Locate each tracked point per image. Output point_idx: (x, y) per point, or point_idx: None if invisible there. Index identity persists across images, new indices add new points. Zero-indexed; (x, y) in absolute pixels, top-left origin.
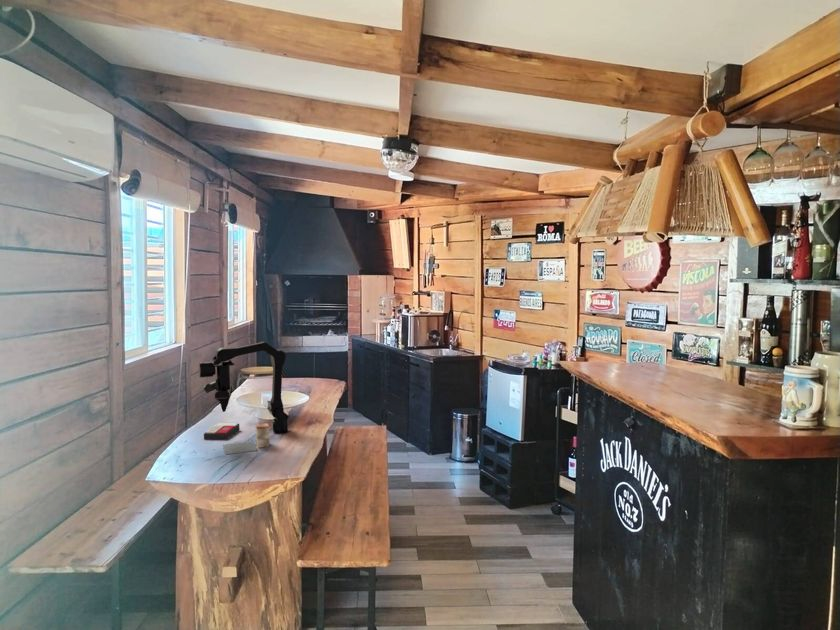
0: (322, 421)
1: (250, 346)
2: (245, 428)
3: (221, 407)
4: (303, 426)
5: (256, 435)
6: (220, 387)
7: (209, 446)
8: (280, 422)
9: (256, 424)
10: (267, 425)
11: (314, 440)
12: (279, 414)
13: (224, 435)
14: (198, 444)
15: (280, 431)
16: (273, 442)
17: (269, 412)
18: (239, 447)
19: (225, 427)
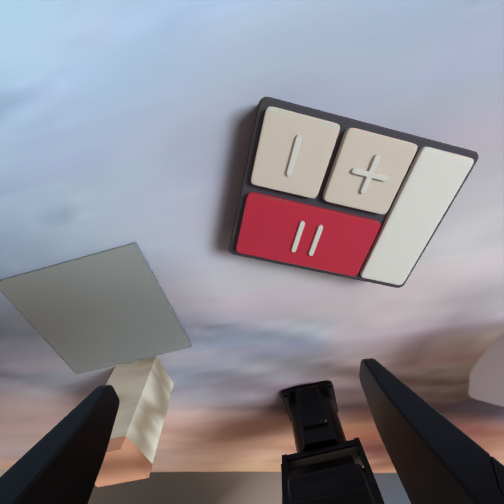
0: (384, 468)
1: None
2: (404, 287)
3: (28, 452)
4: (348, 440)
5: (120, 400)
6: None
7: (109, 176)
8: (296, 447)
9: (119, 452)
10: (105, 483)
11: (193, 468)
12: (282, 501)
13: (231, 238)
14: (144, 93)
15: (289, 407)
16: (177, 397)
17: (349, 467)
18: (96, 316)
19: (336, 232)
